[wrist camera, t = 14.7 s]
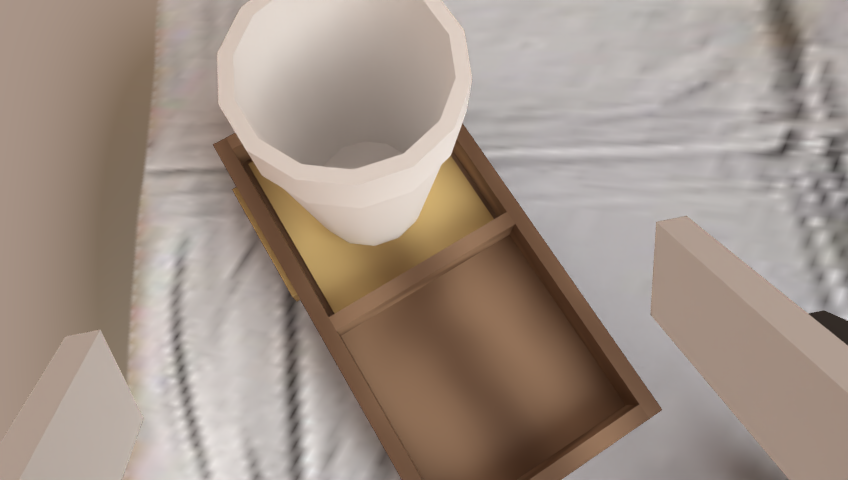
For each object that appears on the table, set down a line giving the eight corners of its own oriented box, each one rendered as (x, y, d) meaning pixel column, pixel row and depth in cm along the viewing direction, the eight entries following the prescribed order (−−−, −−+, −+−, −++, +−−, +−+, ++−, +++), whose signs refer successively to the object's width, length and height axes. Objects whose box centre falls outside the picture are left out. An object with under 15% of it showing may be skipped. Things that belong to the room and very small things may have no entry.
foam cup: (254, 216, 34) (162, 99, 22) (345, 93, 36) (310, -75, 24) (395, 303, 33) (384, 232, 20) (481, 170, 35) (517, 34, 23)
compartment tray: (407, 70, 38) (406, 43, 35) (641, 410, 32) (662, 409, 30) (223, 167, 36) (207, 147, 33) (438, 549, 30) (440, 562, 28)
